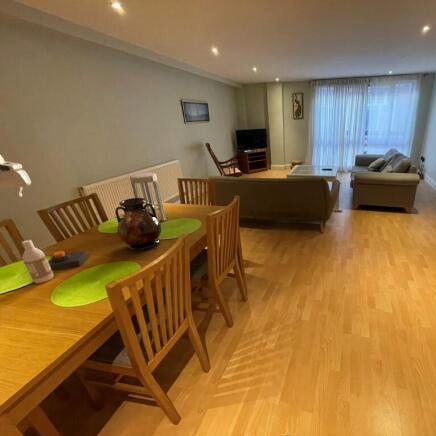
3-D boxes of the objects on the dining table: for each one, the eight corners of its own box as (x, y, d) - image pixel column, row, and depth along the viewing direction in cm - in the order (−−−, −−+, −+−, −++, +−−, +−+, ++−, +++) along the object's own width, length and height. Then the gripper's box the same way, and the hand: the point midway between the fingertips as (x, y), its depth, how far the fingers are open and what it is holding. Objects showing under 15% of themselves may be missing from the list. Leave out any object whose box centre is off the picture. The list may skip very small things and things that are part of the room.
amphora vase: (165, 234, 156) (156, 193, 146) (163, 250, 138) (152, 203, 127) (127, 240, 148) (114, 197, 138) (119, 257, 130) (103, 209, 119)
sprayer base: (45, 271, 118) (41, 263, 116) (56, 260, 128) (53, 252, 126) (80, 266, 123) (76, 257, 121) (88, 255, 132) (85, 247, 130)
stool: (150, 218, 184) (139, 172, 170) (170, 218, 183) (160, 172, 170) (137, 226, 169) (124, 177, 156) (158, 226, 169) (147, 177, 155)
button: (53, 258, 120) (51, 255, 120) (57, 255, 124) (55, 251, 123) (63, 257, 122) (61, 253, 121) (66, 253, 125) (65, 250, 124)
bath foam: (49, 281, 111) (31, 243, 103) (30, 285, 108) (10, 246, 101) (57, 273, 117) (41, 236, 109) (39, 276, 114) (21, 239, 107)
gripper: (-50, 169, 96) (-32, 202, 101) (17, 166, 103) (30, 197, 108) (-36, 167, 102) (-20, 198, 107) (26, 164, 108) (38, 193, 113)
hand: (5, 197), depth 107 cm, fingers open, 8 cm apart
